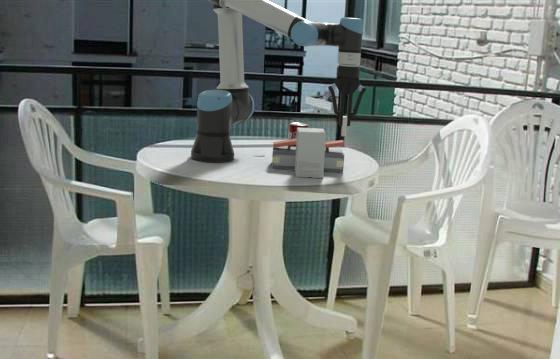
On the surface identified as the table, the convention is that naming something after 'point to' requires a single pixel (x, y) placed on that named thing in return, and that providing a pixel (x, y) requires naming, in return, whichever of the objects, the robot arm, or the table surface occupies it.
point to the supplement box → (310, 152)
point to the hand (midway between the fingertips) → (343, 135)
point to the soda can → (295, 130)
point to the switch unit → (287, 154)
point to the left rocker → (284, 143)
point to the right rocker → (334, 143)
